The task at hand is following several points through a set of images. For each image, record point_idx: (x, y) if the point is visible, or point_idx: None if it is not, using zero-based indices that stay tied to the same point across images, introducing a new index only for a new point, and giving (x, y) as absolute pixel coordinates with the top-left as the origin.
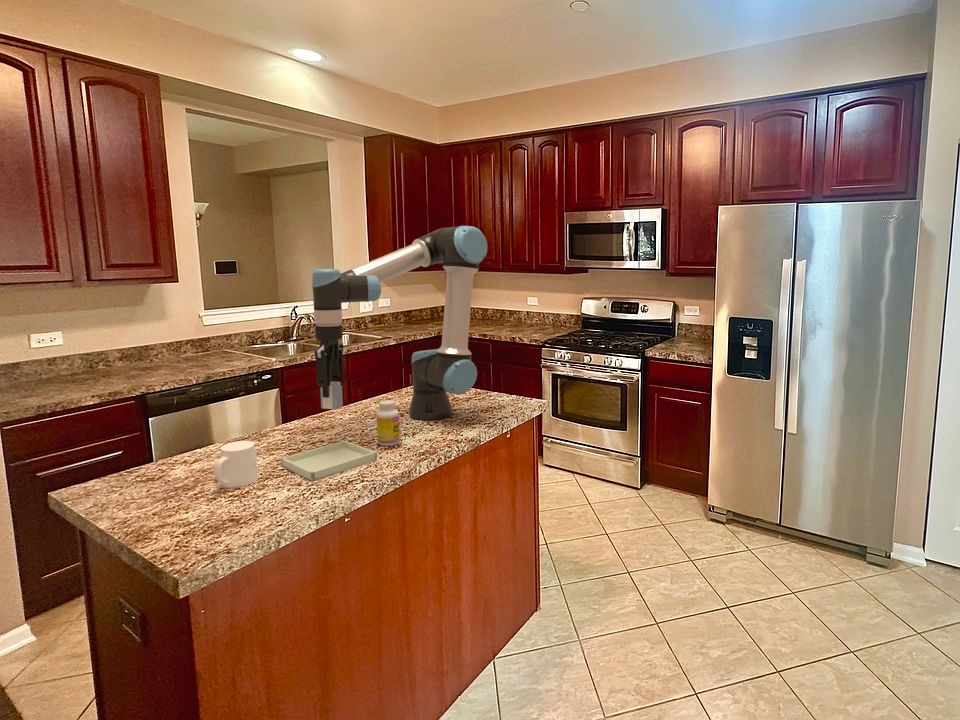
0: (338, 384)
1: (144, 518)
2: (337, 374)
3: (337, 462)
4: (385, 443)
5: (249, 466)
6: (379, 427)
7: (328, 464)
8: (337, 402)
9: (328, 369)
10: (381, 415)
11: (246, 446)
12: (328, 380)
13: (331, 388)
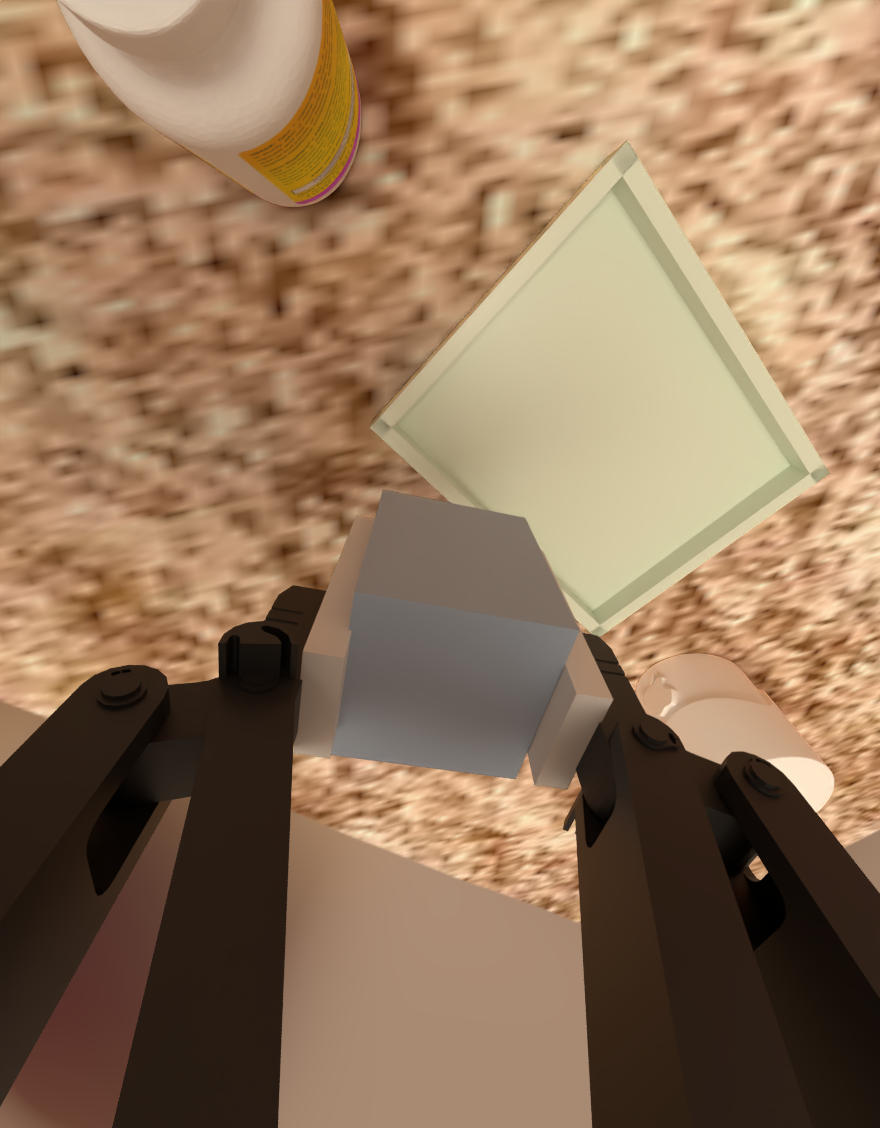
0: (348, 642)
1: (867, 790)
2: (289, 780)
3: (630, 398)
4: (360, 121)
5: (763, 702)
6: (323, 137)
7: (645, 438)
8: (499, 533)
9: (768, 1050)
10: (307, 48)
11: (793, 773)
12: (696, 795)
13: (588, 671)
